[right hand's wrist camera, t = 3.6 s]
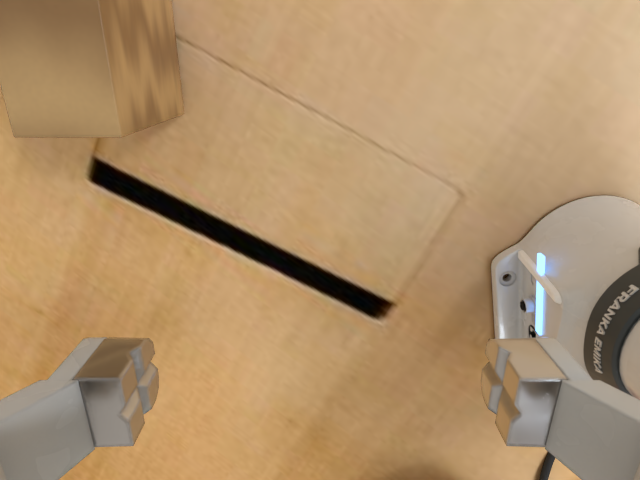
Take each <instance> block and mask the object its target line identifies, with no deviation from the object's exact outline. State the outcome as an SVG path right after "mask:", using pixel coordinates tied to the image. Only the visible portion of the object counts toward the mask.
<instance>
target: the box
mask: <svg viewBox="0 0 640 480" xmlns="http://www.w3.org/2000/svg"><path fill="white" fill-rule="evenodd" d="M0 85H1V89H2V93H3V96H4V100H5V104H6V108H7V112H8V116H9V120H10V123H11V127H12V131H13V135H14V137H74V138H121V137H124V136H126V135H129V134H132V133H135V132H137V131H140V130H143V129H145V128H148V127H151V126H153V125H156V124H159V123H161V122H164V121H167V120H169V119H172V118H175V117H177V116H180V115H183V114H184V108H183V99H182V90H181V81H180V72H179V63H178V54H177V45H176V37H175V28H174V19H173V10H172V1H171V0H0Z"/></svg>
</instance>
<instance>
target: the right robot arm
mask: <svg viewBox="0 0 640 480" xmlns="http://www.w3.org/2000/svg"><path fill="white" fill-rule="evenodd" d="M505 274H509V275H508V277H506V278H503V276H504V275H505ZM491 276H492V294H493V311H494V329H495V339H489V341H488V343H487V345H486V350H485V354H486V356H487V358H488V360H489V361H490V362H489V363H488V364H487V365H486V366H485V367H484V368H483V369H482V376H481V388H482V394H483V398H484V401H485V403H486V405H487V407H488V409H489V410H491V411H492V412H494V413H495V414H496V415H497V416H496V421H495V424H496V426H497V428H498V430H499V432H500V434H501V436H502V438H503V440H504V442H505V444H506V446H526V447H545V449H546V450H547V451H548V454H547V457H546V459H545V462H544V465H543V468H542V471H541V475H540V479H539V480H548V477H549V474H550V471H551V468H552V465H553V462H554V460H555V458H557V459H558V460H559V461H560V462H561V463H563V464H564V465H565V466H566V467H567V468H569V469H570V470H571V471H572V472H573V473H574V474H576V475H577V476H578V477H579V478H580V479H582V480H640V205H639V204H637V203H635V202H633V201H631V200H628V199H626V198H622V197H617V196H609V195H599V196H590V197H585V198H581V199H578V200H575V201H572V202H569V203H567V204H565V205H563V206H561V207H559V208H557V209H556V210H554V211H552V212H551V213H549V214H548V215H547V216H545V217H544V218H543V219H542V220H541V221H539V222H538V223H537V224H536V225H535V226H534V227H533V228H532V230H531V231H530V232H529V233H528V234H527V235H526V236H525V237H524V238H523V239H522V240H521V241H520V242H519V243H517V244H515V245H513V246H512V247H510V248H508V249H506V250H504V251H503V252H501V253H500V254H498V255H497V256H496V257H495V258H494V259H493V261H492V263H491ZM154 354H155V351H154V346H153V342H152V341H151V340H150V339H149V338H111V337H109V338H107V337H88V338H85V339H83V340H82V341H81V342H80V343H79V344H78V345H77V347H76V348H75V349H74V350H73V351H72V352H71V353H70V355H69V356H68V357H67V358H66V359H65V360H64V361H63V363H62V364H61V365H60V366H59V367H58V368H57V369H56V370H55V372H54V373H53V374H52V375H51V376H50V377H49V378H48V380H40V381H38V382H35V383H33V384H31V385H29V386H27V387H25V388H23V389H21V390H19V391H17V392H15V393H13V394H11V395H9V396H7V397H5V398H3V399H1V400H0V480H58V479H60V478H61V477H62V476H63V475H64V474H66V473H67V472H68V471H69V470H70V469H72V468H73V467H74V466H75V465H76V464H78V463H79V462H80V461H81V460H82V459H84V458H85V457H86V456H87V455H88V454H90V453H91V452H92V451H93V450H94V449H95V447H113V446H134V444H135V442H136V440H137V438H138V436H139V434H140V432H141V430H142V428H143V426H144V424H145V422H144V416H143V415H144V414H145V413H146V412H148V411H149V410H151V409H152V407H153V405H154V403H155V401H156V398H157V393H158V389H159V375H158V369H157V368H156V367H155V366H154V365H153V364H152V363H151V362H150V361H151V360H152V358H153V356H154Z"/></svg>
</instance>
